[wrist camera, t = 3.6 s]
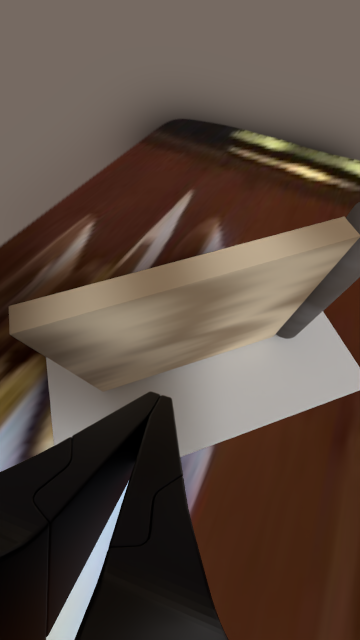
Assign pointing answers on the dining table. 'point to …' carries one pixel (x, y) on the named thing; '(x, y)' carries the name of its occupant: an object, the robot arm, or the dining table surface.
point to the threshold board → (221, 388)
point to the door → (193, 305)
